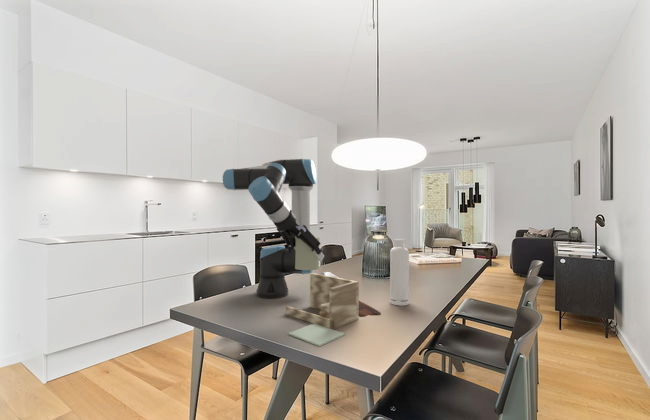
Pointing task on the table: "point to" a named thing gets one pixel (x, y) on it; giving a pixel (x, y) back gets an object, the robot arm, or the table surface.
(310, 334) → the mat
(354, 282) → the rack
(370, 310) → the wooden tablet
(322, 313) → the offcut stack
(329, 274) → the spoon rest
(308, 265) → the can
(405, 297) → the bottle
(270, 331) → the table surface
